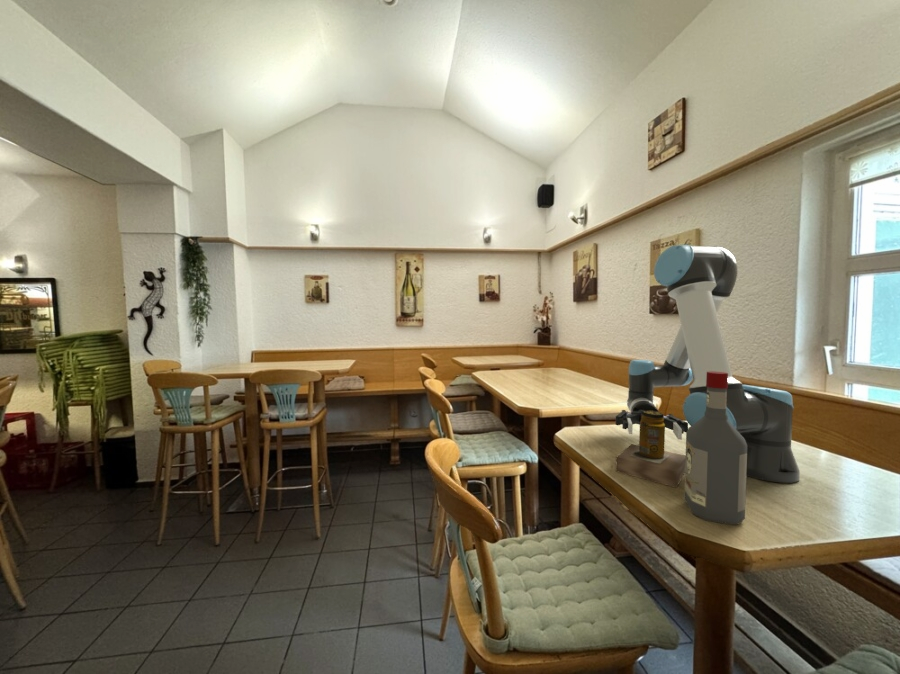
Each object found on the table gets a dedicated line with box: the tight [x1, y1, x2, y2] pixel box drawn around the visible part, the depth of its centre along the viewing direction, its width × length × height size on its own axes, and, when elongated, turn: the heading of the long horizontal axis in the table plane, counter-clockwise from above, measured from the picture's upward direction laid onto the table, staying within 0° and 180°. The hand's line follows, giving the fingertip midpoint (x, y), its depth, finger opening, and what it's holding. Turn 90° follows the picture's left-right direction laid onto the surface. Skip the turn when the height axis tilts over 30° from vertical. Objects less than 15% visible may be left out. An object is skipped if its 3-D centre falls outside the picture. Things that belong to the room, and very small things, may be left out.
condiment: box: [630, 410, 669, 464], centre depth 96 cm, size 7×8×12 cm
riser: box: [615, 443, 686, 488], centre depth 96 cm, size 14×14×4 cm
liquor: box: [684, 371, 747, 526], centre depth 74 cm, size 9×9×30 cm
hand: (654, 431), depth 92 cm, fingers open, 10 cm apart
